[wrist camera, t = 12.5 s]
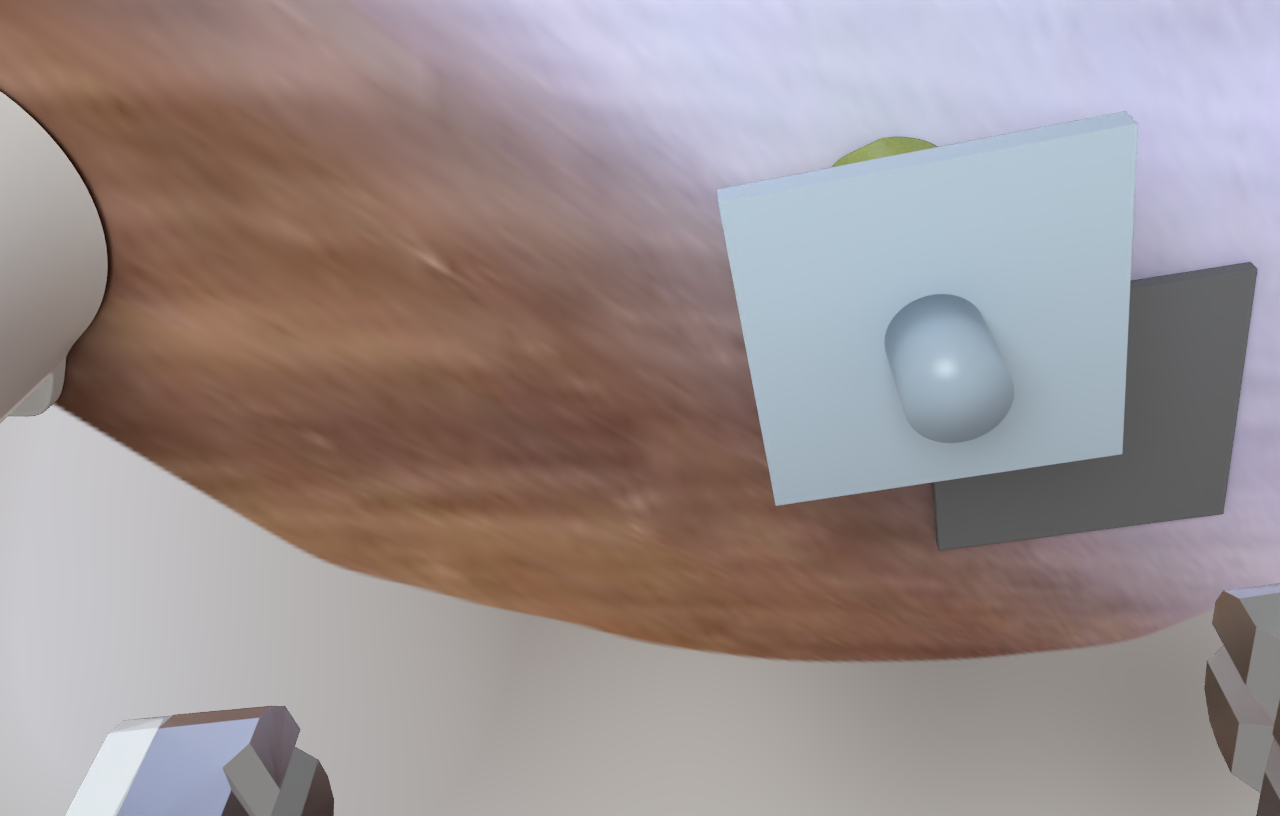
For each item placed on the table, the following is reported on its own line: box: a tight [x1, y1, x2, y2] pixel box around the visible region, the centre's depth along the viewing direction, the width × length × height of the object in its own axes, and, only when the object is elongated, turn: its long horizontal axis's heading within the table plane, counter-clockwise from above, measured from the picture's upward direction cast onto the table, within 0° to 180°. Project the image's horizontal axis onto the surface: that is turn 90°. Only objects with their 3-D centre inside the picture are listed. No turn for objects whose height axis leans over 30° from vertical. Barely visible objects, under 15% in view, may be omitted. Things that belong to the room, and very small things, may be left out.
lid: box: [717, 111, 1138, 506], centre depth 34 cm, size 12×12×4 cm
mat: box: [933, 262, 1257, 550], centre depth 48 cm, size 13×13×1 cm
